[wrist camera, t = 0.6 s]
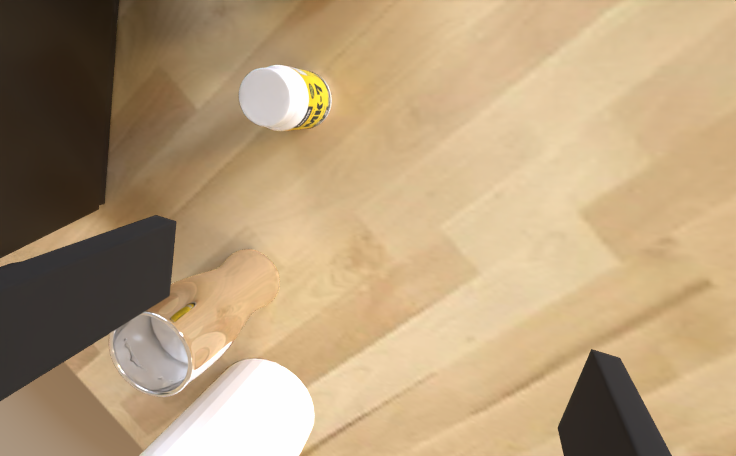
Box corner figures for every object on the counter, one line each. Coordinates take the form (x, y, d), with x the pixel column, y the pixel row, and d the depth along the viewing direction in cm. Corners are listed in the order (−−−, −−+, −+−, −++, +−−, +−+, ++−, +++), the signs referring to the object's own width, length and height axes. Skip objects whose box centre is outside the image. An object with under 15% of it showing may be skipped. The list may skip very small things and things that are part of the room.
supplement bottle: (325, 135, 40) (287, 142, 32) (276, 119, 41) (227, 122, 33) (339, 79, 39) (302, 72, 31) (288, 64, 39) (239, 53, 32)
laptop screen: (-132, 313, 25) (-116, 316, 25) (-211, -461, 16) (-186, -453, 16) (90, 207, 46) (99, 209, 46) (113, -160, 36) (123, -157, 36)
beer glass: (278, 242, 44) (181, 306, 30) (290, 309, 45) (204, 401, 31) (213, 246, 46) (94, 309, 32) (227, 311, 47) (119, 398, 33)
